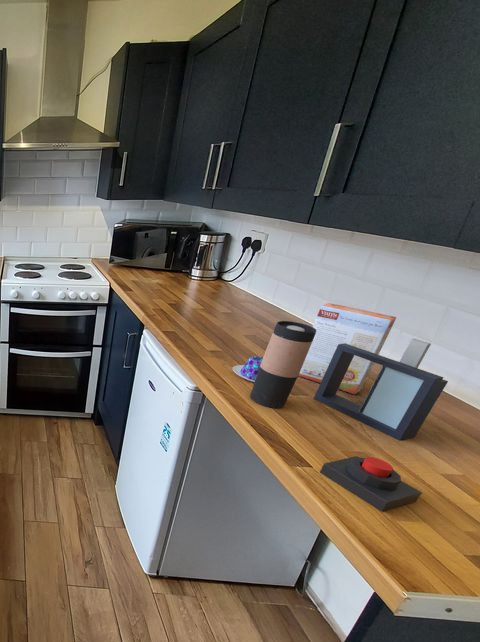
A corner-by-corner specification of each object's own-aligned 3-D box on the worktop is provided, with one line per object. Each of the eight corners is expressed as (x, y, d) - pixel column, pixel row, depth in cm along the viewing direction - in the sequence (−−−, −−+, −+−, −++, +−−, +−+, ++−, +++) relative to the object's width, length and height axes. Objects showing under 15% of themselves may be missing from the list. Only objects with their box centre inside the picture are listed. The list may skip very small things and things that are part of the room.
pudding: (223, 372, 114) (229, 356, 112) (244, 364, 120) (249, 348, 118) (270, 391, 105) (277, 373, 103) (290, 380, 111) (297, 363, 109)
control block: (416, 502, 70) (427, 484, 68) (381, 512, 67) (393, 494, 65) (351, 464, 78) (360, 448, 77) (319, 472, 76) (327, 455, 74)
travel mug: (242, 392, 104) (268, 319, 95) (271, 394, 103) (301, 321, 95) (260, 408, 97) (291, 331, 88) (292, 410, 97) (326, 333, 88)
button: (393, 476, 70) (398, 468, 69) (379, 479, 69) (384, 471, 68) (369, 462, 73) (374, 455, 73) (356, 466, 72) (360, 458, 72)
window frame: (414, 437, 88) (451, 376, 82) (399, 440, 86) (436, 378, 80) (327, 396, 103) (352, 342, 97) (313, 398, 102) (338, 344, 96)
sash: (401, 424, 89) (445, 347, 81) (398, 425, 89) (442, 348, 81) (364, 407, 95) (402, 334, 88) (361, 408, 95) (398, 335, 87)
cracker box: (361, 390, 107) (398, 316, 99) (354, 395, 104) (392, 320, 96) (300, 369, 118) (329, 301, 109) (291, 374, 115) (321, 304, 106)
